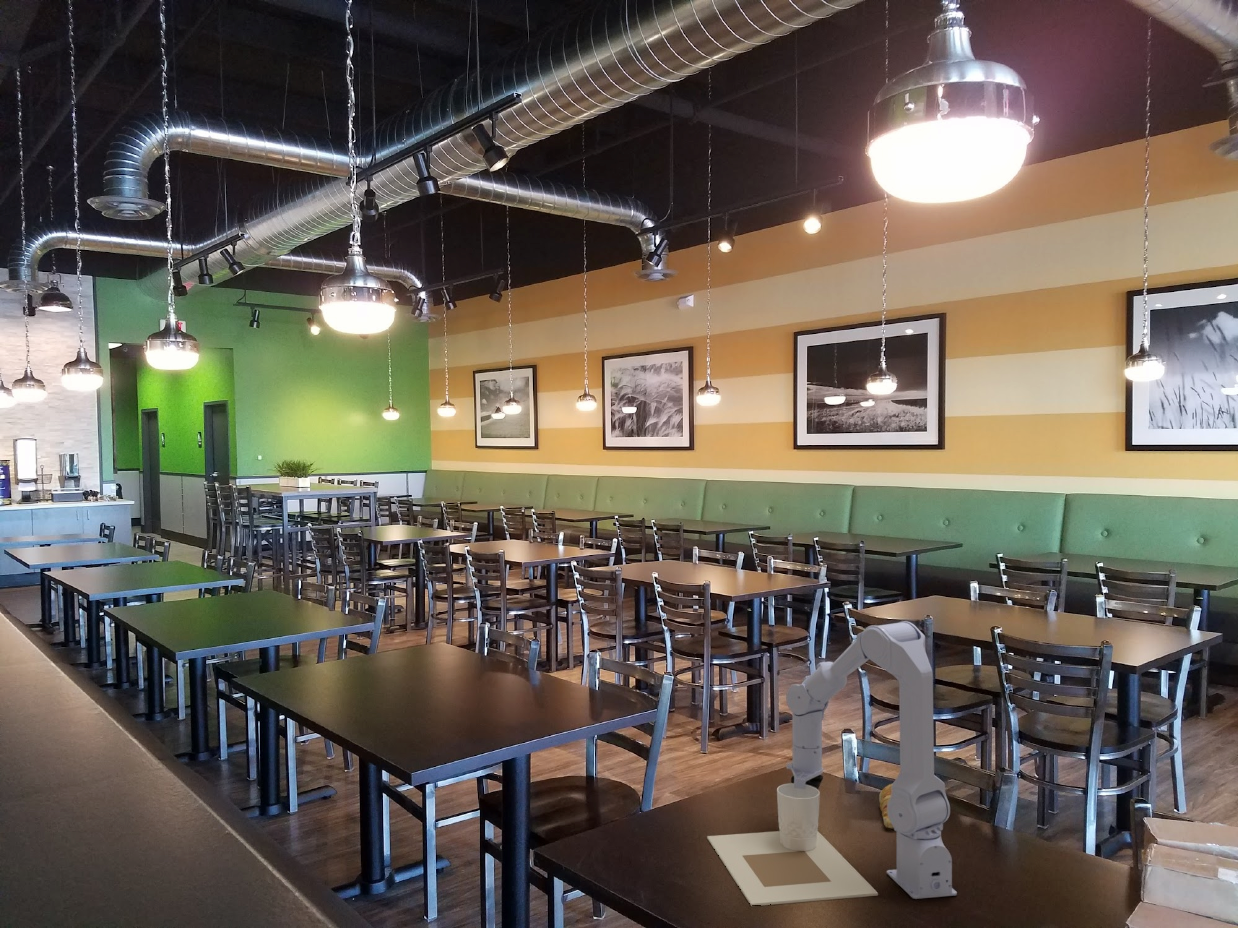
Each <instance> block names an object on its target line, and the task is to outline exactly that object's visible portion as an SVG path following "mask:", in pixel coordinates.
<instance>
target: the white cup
mask: <svg viewBox="0 0 1238 928" xmlns="http://www.w3.org/2000/svg"><path fill="white" fill-rule="evenodd" d="M820 794H821V792H820V790H819V789H816V788H815V787H813V786H810V785H806V784H805V789H798V788H794V783H791V782H790V783H784V784H781V785H779V786H778V787H777V788H776V799H777V817H778V819H777V820H778V821H777V822H778V828H779V831H780V843H781V844H782V845H783V846H784V847H785V848H787V849H790V850H795V851H809V850H812V849H814V848H815V847H816V841H817V831H818V830H819V817H820V816H819V815H820V796H821V795H820ZM818 832H819V831H818Z"/></svg>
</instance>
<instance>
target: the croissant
mask: <svg viewBox="0 0 1238 928" xmlns="http://www.w3.org/2000/svg"><path fill="white" fill-rule="evenodd" d="M893 783H894V782H893ZM893 783H890V784H888V785H886V786H885V787H884V788H883V789H882V790H881V791H880V793H879V795H878V797H879V798H878V799H879V800H878V801H879V803H880V804H879V808H880V811H881V816H882V820H883V824H884V826H885V828H888V829H894V827H893V825H892V824H891V822H890V820H889V817H888V814H887V804H888V801H889V799H890V797H891V786H892V785H893Z"/></svg>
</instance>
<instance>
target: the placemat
mask: <svg viewBox="0 0 1238 928" xmlns="http://www.w3.org/2000/svg"><path fill="white" fill-rule="evenodd" d="M706 839H707V841H708V842H709V843H710V844H711V846H712V848H713V849H715V850H714V851H715V852H716V854H717V856H718V855H719V856H718V857H719V858H720V860H721V862H722V863H723V865H724V867H725V866H726V867H725V868H726V870H727V871H728V873H729V874H730V876H731V878H732V879H733V881H734V882H735V884H736V885H737V887H738V886H739V887H738V888H739V890H740V889H741V890H740V891H741V893H742V894H743V896H744V898H745V899H746V900H747V902H748V903H750V904H749V905H750V907H753V906H752V905H761V906H768V905H769V906H770V904H771V906H773V905H781V904H782V905H783V904H794V903H806V902H818V901H819V902H820V901H827V900H828V901H829V900H838V899H853V898H863V897H864V898H865V897H873V896H879V893H878V892H877V890H876V889H874V887H873V886H872V885H871V884H870V883H869V882H868V881H867V880H866V879H865V878H864V876H862V875H861V874H860V873H859V872H858V870H856V869H855V868H854V866H852V865H851V863H849V862H848V860H847V859H845V858H844V856H843V855H842V853H840V852H839V851H838V850H837V849H836V848H835V847H834V846H833V845H832V844H831V843H830V842H829V841H828V840H827V839H826V838H825V836H823V835H822V834H821V833H820V832H819V831H817V841H816V847H815V848H814V849H812V850H809V851H795V850H790V849H787V848H785V847H784V846H783V845H782V844H781V843H780V830H777V831H764V832H749V833H735V834H721V835H719V834H718V835H707V836H706Z"/></svg>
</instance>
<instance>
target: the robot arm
mask: <svg viewBox="0 0 1238 928" xmlns="http://www.w3.org/2000/svg"><path fill="white" fill-rule="evenodd" d="M869 660H870V661H871V662H873V663H874V664H876V665H877V666H879V667H880V668H881V669H883V670H885V671H886V672H887V673H889V674H891V675H892V676H893V677H894V678H895V679H896V680H897V681H898V689H899V690H898V692H899V693H898V695H899V697H898V699H899V762H900V763H899V765H900V766H899V768H900V769H899V774H898V775H897V776H896V778H895V780H894V781H893V785H892V786H891V797H890V799H889V801H888V804H887V814H888V817H889V820H890V822H891V824H892V825H893V827H894V828H893V830H894V832H896V869H888V870H886V874H887V875H888V876H889V877H890V878H891V879H892V880H893V881H894V882H895V883H896V884H897V885H898V886H900V887H901V888H902V889H903V891H905V893H907V894H908V895H909V896H910V897H911V898H912V899H915V900H917V899H918V900H919V899H928V898H929V899H930V898H941V897H952V896H957V895H958V894H957V893H958V892H957V891H956V890H955V889H954V888H953V859H952V855H951V853H950V851H949V850H948V849H947V848H946V846H945V845H944V843H943V840H942V831H943V829H944V823H945V822H946V821H948V820H949V817H950V815H951V806H950V802H949V800H948V797H947V794H946V784H945V782H944V781H943V780H941V779H940V778H939V777H938V776H936V775H935V756H934V755H935V749H934V745H935V744H934V742H935V741H934V740H935V739H934V738H935V737H934V735H935V734H934V733H935V732H934V683H933V682H934V678H933V677H934V674H933V669H932V666H931V664H930V659H929V658H928V655H927V652H926V636H925V634H924V633H923V632H922V631H921V630H920V629H919V628H918V627H917V626H916V625H915V624H914V623H913V622H911V621H907V620H903V621H899V622H894V623H888V624H880V625H869V626H867V627H865V628H864V629H863V631H861V632H859V633H858V634H857V635H856V639H855V640H854V641H853V642H852V643H851V644H850V645H849V646H848V647H847V648H846V649H845V650H844V651H843V652H842V653H841V655H839V656H838V657H837V659H835V660H834V662H833V661H823V662H822V661H821V662H819V663H818V664H816V666H815V667H816V668H817V669H815V670H814V671H813V672H812V673H811V674H810V675H805V677H803V681H802V683H801V684H798V683H795V684H794V683H793V684H790V687H789V688H788V690H787V692H786V696H785V697H786V698H785V700H786V705H787V707H788V708H789V710H790V711H791V713H792V714H791V715H792V716H791V717H792V727H791V728H792V732H791V733H792V740H791V741H792V743H791V744H792V747H791V748H792V750H791V751H792V752H791V753H792V762H788V763H786V764H785V765H786V770H791V772H792V777H791V778H790V783H794V788H798V789H805V784H806V785H810V786H813V787H815V788H816V789H818V790H819V788H820V786H821V783H822V782H823V779H824V776H823V775H822V774H823V772H824V768H823V720H824V719H825V711H826V709H828V706H829V703H830V700H831V699H833V698H834V697H835V696H836V695H837V694H838V693H839V692H840V691H842V690H843V689H844V688H845V687H846V686H847V682H848V676H849V675H850V674H852V673H853V672H855V671H856V670H857V669H859V668H860V667H861V666H862V665H864V664H865V663H867V662H868V661H869Z"/></svg>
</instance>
